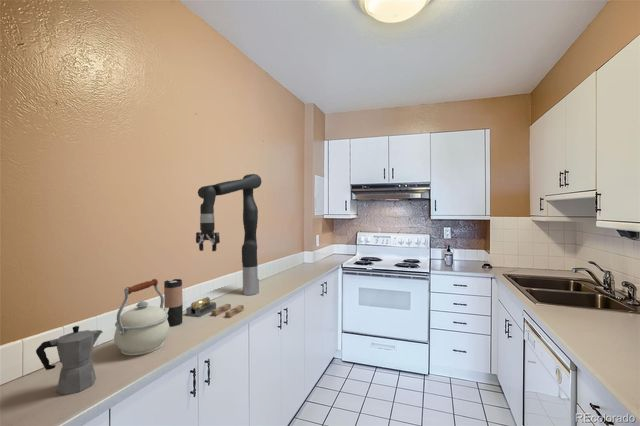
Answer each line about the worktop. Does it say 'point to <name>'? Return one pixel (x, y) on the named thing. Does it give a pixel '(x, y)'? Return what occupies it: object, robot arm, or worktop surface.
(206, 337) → the worktop surface
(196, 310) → the v block
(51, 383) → the worktop surface
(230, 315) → the parallel bars
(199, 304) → the axle
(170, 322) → the travel mug
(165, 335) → the kettle
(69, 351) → the coffeepot
